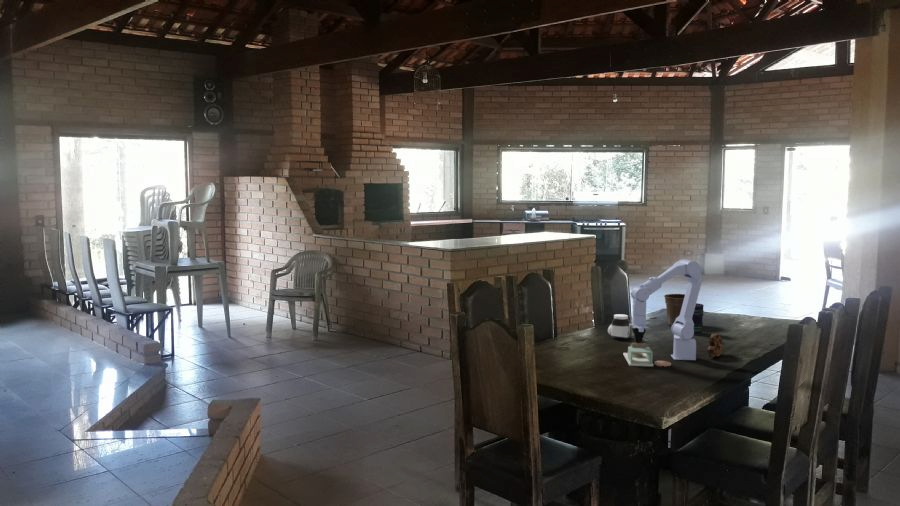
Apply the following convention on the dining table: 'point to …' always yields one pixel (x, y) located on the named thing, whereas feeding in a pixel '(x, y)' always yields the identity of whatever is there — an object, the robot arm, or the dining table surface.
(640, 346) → the pale green open box
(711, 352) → the wooden carving
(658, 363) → the coaster
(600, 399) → the dining table surface
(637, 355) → the block
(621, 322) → the spread jar
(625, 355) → the board
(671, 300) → the plant pot
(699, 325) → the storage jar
